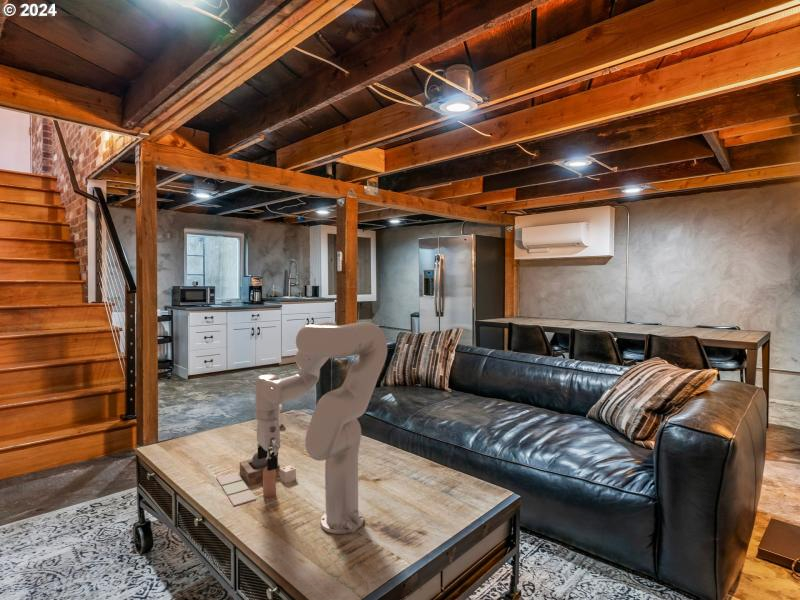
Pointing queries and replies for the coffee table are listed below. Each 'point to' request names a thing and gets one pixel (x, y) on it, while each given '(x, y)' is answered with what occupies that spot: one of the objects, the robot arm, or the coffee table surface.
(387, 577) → the coffee table surface
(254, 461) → the dome
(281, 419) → the bust
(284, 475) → the die
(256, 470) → the frame
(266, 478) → the brown rounded cylinder piece
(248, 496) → the tile strip
